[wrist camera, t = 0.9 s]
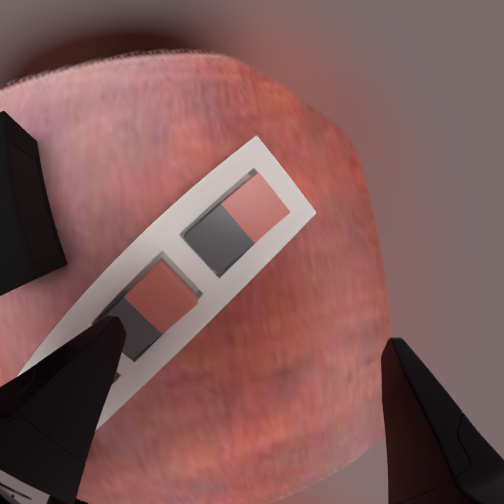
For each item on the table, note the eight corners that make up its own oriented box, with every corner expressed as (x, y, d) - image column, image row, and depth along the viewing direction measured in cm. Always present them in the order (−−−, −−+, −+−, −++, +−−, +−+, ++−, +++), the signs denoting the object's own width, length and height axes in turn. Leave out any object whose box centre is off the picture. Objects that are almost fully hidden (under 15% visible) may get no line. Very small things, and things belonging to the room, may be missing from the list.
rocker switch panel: (69, 433, 18) (63, 460, 14) (11, 384, 16) (-4, 406, 12) (290, 215, 24) (316, 212, 20) (238, 150, 22) (256, 135, 18)
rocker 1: (135, 348, 18) (132, 359, 16) (101, 316, 17) (95, 325, 15) (197, 295, 17) (197, 304, 16) (161, 257, 17) (158, 264, 15)
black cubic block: (-13, 168, 14) (-57, 149, 8) (37, 140, 16) (2, 107, 10) (16, 288, 16) (-26, 309, 10) (68, 264, 18) (35, 279, 12)
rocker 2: (216, 267, 19) (218, 274, 18) (184, 232, 18) (183, 236, 17) (284, 210, 19) (290, 212, 18) (254, 173, 18) (259, 172, 17)
